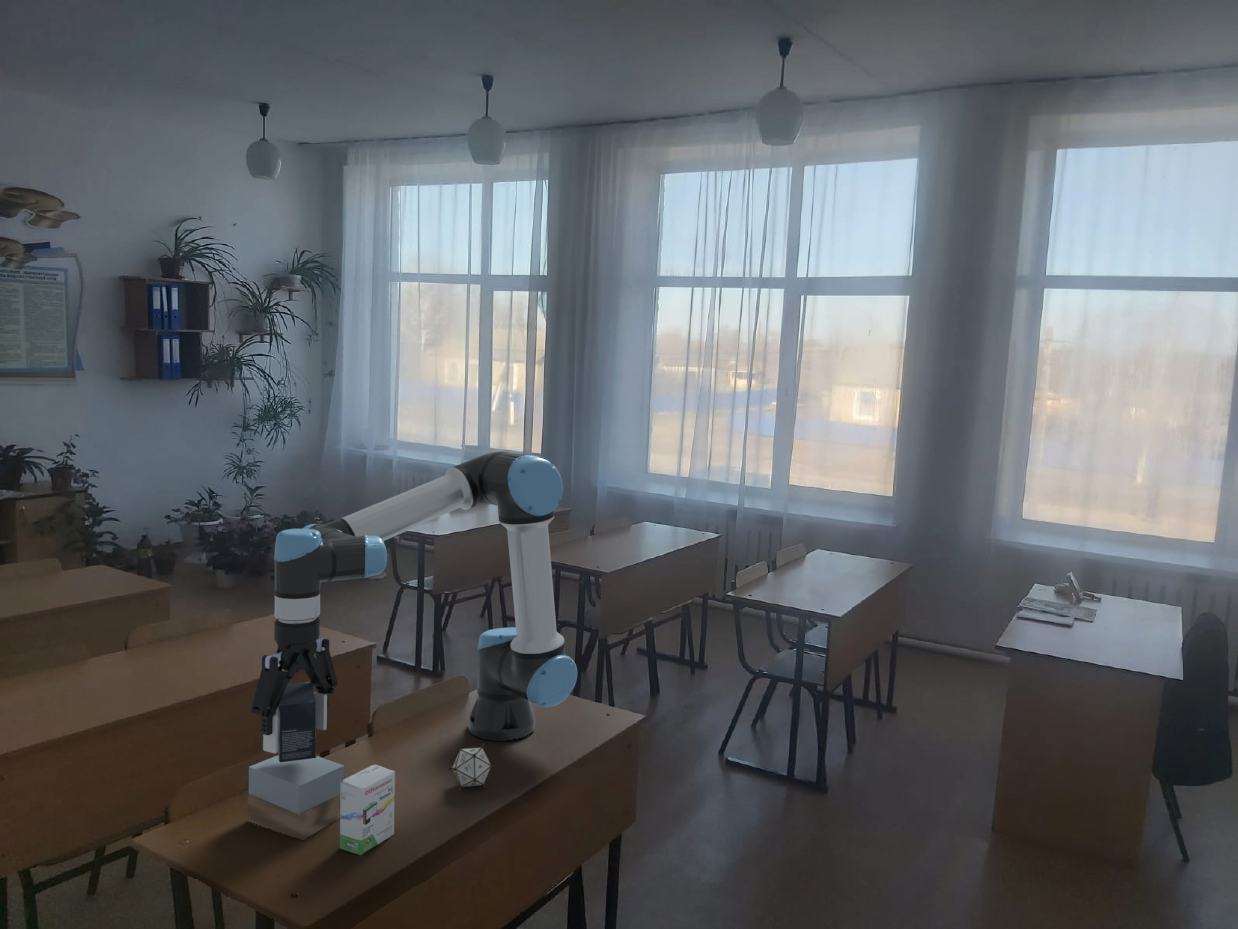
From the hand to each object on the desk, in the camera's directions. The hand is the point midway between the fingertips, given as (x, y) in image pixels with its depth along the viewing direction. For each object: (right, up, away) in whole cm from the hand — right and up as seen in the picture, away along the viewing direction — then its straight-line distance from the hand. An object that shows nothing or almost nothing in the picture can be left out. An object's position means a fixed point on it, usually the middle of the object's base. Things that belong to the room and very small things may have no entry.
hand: (295, 739), depth 158 cm
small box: (0, -2, 0) cm, 2 cm away
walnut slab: (-1, -15, +2) cm, 15 cm away
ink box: (+14, -16, -5) cm, 22 cm away
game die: (+28, -15, +17) cm, 36 cm away
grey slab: (0, -10, +2) cm, 10 cm away
